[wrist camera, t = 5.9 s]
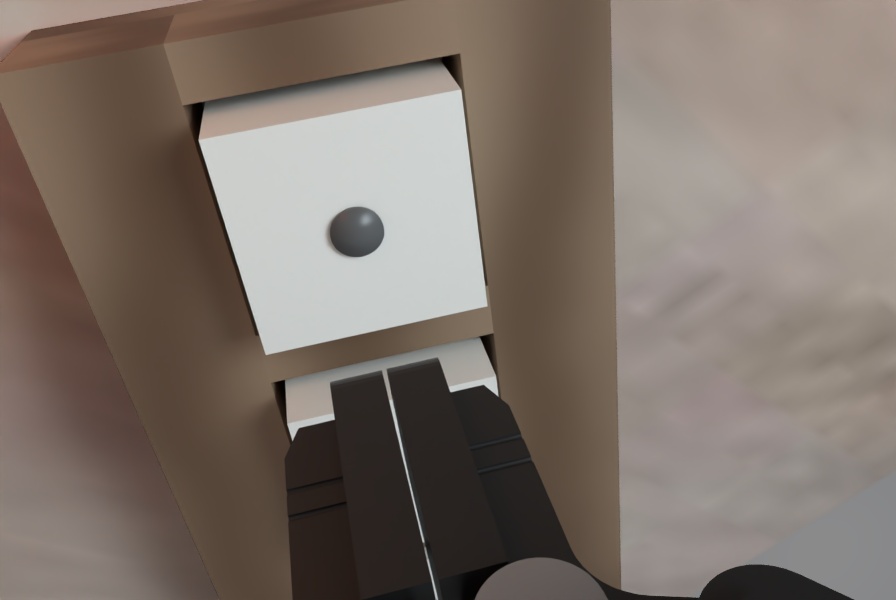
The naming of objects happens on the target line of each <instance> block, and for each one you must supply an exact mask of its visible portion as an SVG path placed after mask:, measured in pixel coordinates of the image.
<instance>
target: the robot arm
mask: <svg viewBox="0 0 896 600" xmlns="http://www.w3.org/2000/svg"><path fill="white" fill-rule="evenodd" d="M386 370H387V375H388V380H389V385H390V390H391V395H392V399H393V404H394V409H395V414H396V419H397V423H398V428H399V433H400V438H401V443H402V447H403V452H404V457H405V461H406V466H407V470H408V475H409V479H410V484H411V488H412V492H413V497H414V501H415V505H416V509H417V513H418V518H419V522H420V526H421V530H422V534H423V538H424V543H425V547H426V551H427V555H428V559H429V563H430V568H431V572H432V576H433V580H434V584H435V589H436V593H437V597H438V600H854V599H851V598H849V597H847V596H845V595H843V594H841V593H838V592H836V591H834V590H832V589H830V588H828V587H826V586H823V585H821V584H819V583H817V582H815V581H813V580H810V579H808V578H806V577H804V576H802V575H800V574H797V573H795V572H792V571H789V570H787V569H783V568H779V567H775V566H769V565H744V566H738V567H735V568H732V569H729V570H726V571H724V572H722V573H720V574H719V575H717V576H716V577H715V578H713V579H712V580H711V581H710V582H709V583H708V584H707V585H706V587H705V588H704V589H703V591H702V593H701V595H700V597H699V598H692V597H667V596H647V595H638V594H633V593H629V592H625V591H622V590H619V589H617V588H614V587H612V586H610V585H608V584H606V583H604V582H602V581H600V580H599V579H597V578H596V577H595V576H593V575H592V574H591V573H590V572H588V571H587V570H586V569H585V568H584V567H583V566H582V565H581V563H580V562H579V561H578V559H577V558H576V557H575V555H574V553H573V551H572V549H571V547H570V545H569V543H568V540H567V538H566V536H565V533H564V531H563V529H562V526H561V524H560V522H559V519H558V517H557V515H556V512H555V510H554V508H553V506H552V503H551V501H550V499H549V496H548V494H547V492H546V489H545V487H544V485H543V482H542V480H541V478H540V476H539V473H538V471H537V469H536V466H535V464H534V462H532V459H531V455H530V452H529V450H528V448H527V445H526V443H525V441H524V439H522V435H521V432H520V429H519V427H518V425H517V422H516V420H515V418H514V415H513V413H512V411H511V409H510V406H509V405H508V404H507V403H506V402H505V401H503V400H502V399H501V398H500V397H498V396H497V395H496V394H495V393H493V392H492V391H491V390H490V389H489V388H487V387H486V386H485V385H480V386H476V387H472V388H467V389H463V390H459V391H454V392H450V390H449V387H448V384H447V381H446V378H445V375H444V372H443V369H442V366H441V364H440V361H439V359H438V357H436V358H432V359H427V360H423V361H419V362H414V363H410V364H405V365H401V366H397V367H392V368H388V369H386ZM330 389H331V396H332V404H333V411H334V418H335V420H331V421H327V422H323V423H318V424H314V425H310V426H306V427H301V428H298V430H297V433H296V435H295V437H294V439H293V441H292V443H291V446H290V448H289V450H288V452H287V454H286V456H285V458H284V460H285V478H286V491H287V512H288V519H289V522H288V530H289V547H290V564H291V582H292V599H293V600H436V598H435V594H434V589H433V584H432V579H431V575H430V571H429V567H428V562H427V558H426V554H425V550H424V546H423V541H422V537H421V533H420V529H419V525H418V520H417V516H416V512H415V508H414V503H413V499H412V495H411V491H410V487H409V482H408V478H407V474H406V470H405V465H404V461H403V457H402V453H401V449H400V444H399V440H398V436H397V432H396V428H395V423H394V419H393V415H392V411H391V406H390V402H389V398H388V394H387V390H386V385H385V381H384V377H383V373H382V370H380V371H376V372H371V373H367V374H363V375H358V376H354V377H349V378H345V379H341V380H336V381H332V382H330Z"/></svg>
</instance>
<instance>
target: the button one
mask: <svg viewBox="0 0 896 600" xmlns="http://www.w3.org/2000/svg"><path fill="white" fill-rule="evenodd" d="M199 143H200V146H201V149H202V153H203V156H204V159H205V162H206V165H207V169H208V172H209V175H210V178H211V181H212V185H213V188H214V191H215V194H216V197H217V201H218V204H219V207H220V210H221V213H222V217H223V220H224V223H225V226H226V230H227V233H228V236H229V239H230V242H231V246H232V249H233V252H234V255H235V258H236V262H237V265H238V268H239V271H240V274H241V278H242V281H243V284H244V287H245V290H246V294H247V297H248V300H249V303H250V306H251V310H252V313H253V316H254V319H255V322H256V326H257V329H258V332H259V335H260V338H261V342H262V345H263V348H264V351H265V354H266V355H269V354H273V353H278V352H282V351H287V350H291V349H296V348H300V347H305V346H309V345H314V344H318V343H323V342H328V341H332V340H337V339H341V338H346V337H350V336H355V335H359V334H364V333H368V332H373V331H377V330H382V329H387V328H391V327H396V326H400V325H405V324H409V323H414V322H418V321H423V320H427V319H432V318H436V317H441V316H446V315H450V314H455V313H459V312H464V311H468V310H473V309H477V308H482V307H486V306H487V298H486V290H485V281H484V273H483V265H482V257H481V248H480V240H479V232H478V224H477V215H476V207H475V199H474V191H473V183H472V174H471V166H470V158H469V150H468V141H467V133H466V125H465V117H464V108H463V100H462V92H461V88H460V87H459V86H458V84H457V83H456V81H455V80H454V79H453V77H452V76H451V74H450V73H449V72H448V70H447V69H446V67H445V66H444V65H443V63H442V62H441V60H440V59H439V57H438V58H433V59H427V60H422V61H417V62H411V63H406V64H401V65H395V66H390V67H385V68H379V69H374V70H369V71H363V72H358V73H353V74H347V75H342V76H337V77H331V78H326V79H321V80H316V81H310V82H305V83H300V84H294V85H289V86H284V87H278V88H273V89H268V90H262V91H257V92H252V93H246V94H241V95H236V96H230V97H225V98H220V99H214V100H209V101H205V106H204V111H203V117H202V123H201V129H200V134H199Z"/></svg>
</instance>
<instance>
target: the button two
mask: <svg viewBox="0 0 896 600" xmlns="http://www.w3.org/2000/svg"><path fill="white" fill-rule="evenodd" d="M436 357H438V359H439V361H440V364H441V366H442V369H443V372H444V375H445V378H446V381H447V384H448V387H449V390H450V392H454V391H459V390H463V389H467V388H472V387H476V386H480V385H485V386H486V387H487V388H489V389H490V390H491V391H492V392H493V393H495V394H496V395H497V396H498V388H497V380H496V375H495V372H494V370H493V368H492V365H491V363H490V360H489V358H488V356H487V353H486V351H485V348H484V346H483V343H482V341H481V339H480V336H478V337H474V338H469V339H465V340H460V341H456V342H451V343H447V344H442V345H438V346H433V347H429V348H425V349H420V350H416V351H411V352H407V353H402V354H398V355H393V356H389V357H384V358H380V359H375V360H371V361H366V362H362V363H357V364H353V365H349V366H344V367H340V368H335V369H331V370H326V371H322V372H317V373H313V374H308V375H304V376H299V377H295V378H290V379H286V380H285V389H286V409H287V425H288V428H289V431H290V434H291V438H292V441H293V439H294V437H295V435H296V433H297V430H298V428H301V427H306V426H310V425H314V424H318V423H323V422H327V421H331V420H335V418H334V411H333V404H332V396H331V389H330V382H332V381H336V380H341V379H345V378H349V377H354V376H358V375H363V374H367V373H371V372H376V371H380V370H382V373H383V377H384V381H385V385H386V390H387V394H388V398H389V402H390V406H391V411H392V415H393V419H394V423H395V428H396V432H397V436H398V440H399V444H400V449H401V453H402V457H403V461H404V465H405V470H406V474H407V478H408V482H409V487H410V491H411V495H412V499H413V503H414V508H415V512H416V516H417V520H418V525H419V529H420V533H421V537H422V541H423V542H424V538H423V534H422V530H421V526H420V522H419V518H418V513H417V509H416V505H415V501H414V497H413V492H412V488H411V484H410V479H409V475H408V470H407V466H406V461H405V457H404V452H403V447H402V443H401V438H400V433H399V428H398V423H397V419H396V414H395V409H394V404H393V399H392V395H391V390H390V385H389V380H388V375H387V370H386V369H388V368H392V367H397V366H401V365H405V364H410V363H414V362H419V361H423V360H427V359H432V358H436Z"/></svg>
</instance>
